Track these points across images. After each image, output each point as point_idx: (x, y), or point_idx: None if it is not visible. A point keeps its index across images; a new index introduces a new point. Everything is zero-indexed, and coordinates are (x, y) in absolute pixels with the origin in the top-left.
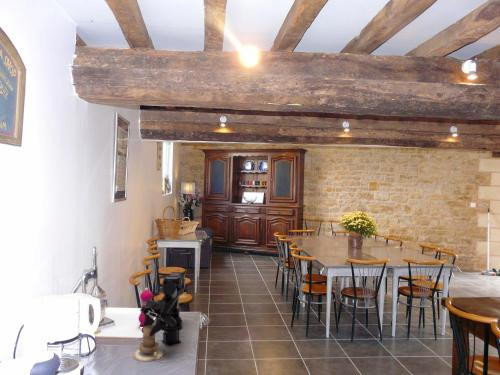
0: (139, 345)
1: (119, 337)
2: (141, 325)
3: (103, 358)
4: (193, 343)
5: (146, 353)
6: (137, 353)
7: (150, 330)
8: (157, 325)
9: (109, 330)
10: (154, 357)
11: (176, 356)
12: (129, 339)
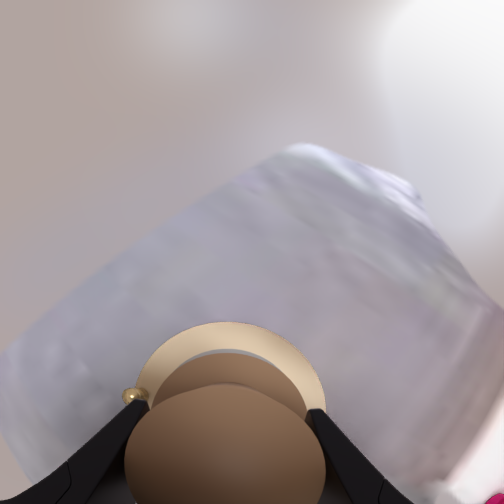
0: (285, 376)
1: (500, 394)
2: (501, 500)
3: (372, 225)
4: None
5: None
6: (276, 361)
7: (136, 431)
8: (31, 489)
9: None
10: (138, 387)
11: None
12: (467, 427)
